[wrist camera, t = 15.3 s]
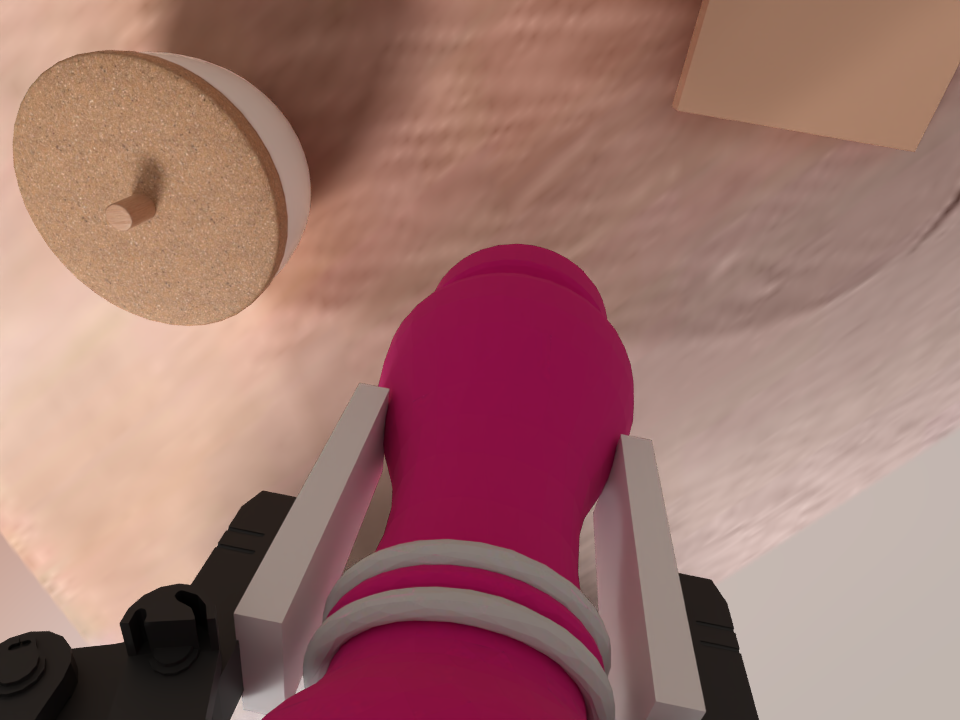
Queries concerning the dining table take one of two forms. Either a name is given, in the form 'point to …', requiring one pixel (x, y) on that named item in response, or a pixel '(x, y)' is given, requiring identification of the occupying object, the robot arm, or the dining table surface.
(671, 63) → the dining table surface
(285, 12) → the dining table surface
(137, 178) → the lidded jar
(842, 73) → the tile
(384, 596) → the pepper mill
